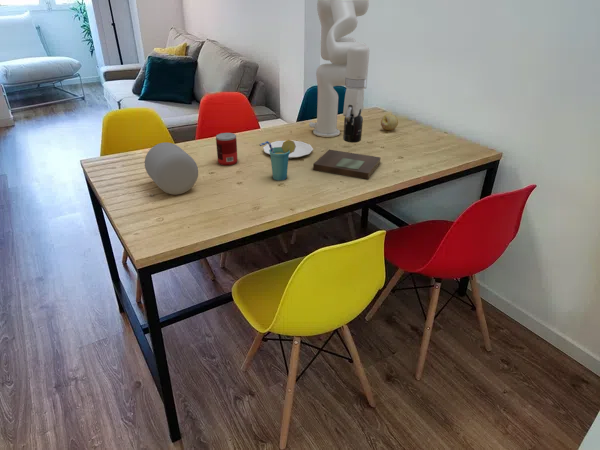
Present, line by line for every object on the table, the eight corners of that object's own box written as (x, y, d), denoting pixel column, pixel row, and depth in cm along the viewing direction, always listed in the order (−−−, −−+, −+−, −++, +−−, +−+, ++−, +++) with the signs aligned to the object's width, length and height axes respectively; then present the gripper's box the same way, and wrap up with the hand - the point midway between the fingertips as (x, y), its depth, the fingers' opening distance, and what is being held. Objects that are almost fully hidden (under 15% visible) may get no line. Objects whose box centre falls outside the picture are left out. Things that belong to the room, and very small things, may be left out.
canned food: (241, 160, 182) (239, 134, 176) (230, 167, 175) (228, 140, 170) (225, 157, 184) (223, 131, 179) (214, 164, 178) (211, 137, 173)
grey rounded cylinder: (136, 190, 145) (127, 154, 163) (171, 213, 155) (158, 177, 173) (177, 150, 142) (163, 118, 160) (209, 175, 152) (193, 143, 170)
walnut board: (313, 169, 174) (313, 163, 173) (328, 154, 189) (329, 148, 187) (368, 179, 167) (368, 172, 165) (380, 163, 181) (380, 156, 180)
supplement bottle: (362, 143, 166) (364, 111, 160) (343, 143, 166) (345, 110, 160) (360, 137, 172) (362, 106, 166) (342, 137, 172) (344, 105, 166)
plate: (284, 164, 178) (284, 160, 177) (253, 150, 192) (253, 147, 191) (322, 153, 190) (322, 149, 190) (291, 140, 204) (291, 137, 203)
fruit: (378, 128, 222) (379, 112, 218) (394, 128, 223) (396, 111, 219) (382, 133, 215) (384, 116, 211) (399, 132, 216) (401, 116, 212)
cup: (266, 185, 161) (265, 145, 153) (256, 178, 166) (254, 139, 159) (299, 177, 167) (299, 139, 160) (288, 171, 173) (288, 133, 165)
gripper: (353, 77, 167) (350, 124, 175) (338, 86, 153) (335, 137, 161) (372, 79, 164) (368, 127, 173) (359, 89, 150) (355, 140, 159)
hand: (352, 131), depth 167 cm, fingers closed on supplement bottle, 6 cm apart
